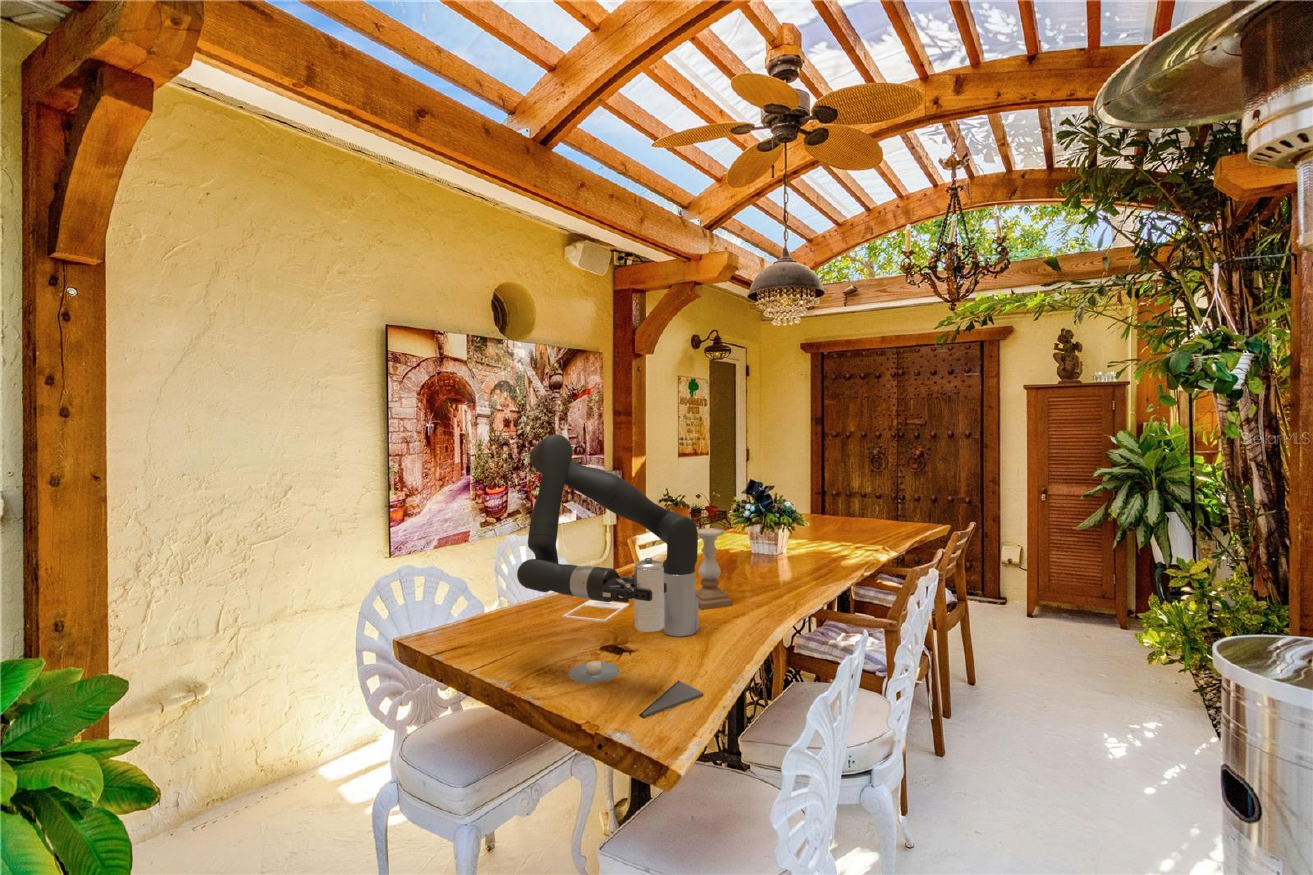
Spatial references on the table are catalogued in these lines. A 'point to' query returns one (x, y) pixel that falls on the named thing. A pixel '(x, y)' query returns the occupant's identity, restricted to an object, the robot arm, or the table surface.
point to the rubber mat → (672, 698)
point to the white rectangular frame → (601, 605)
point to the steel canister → (652, 578)
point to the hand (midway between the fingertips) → (658, 592)
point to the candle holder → (710, 573)
